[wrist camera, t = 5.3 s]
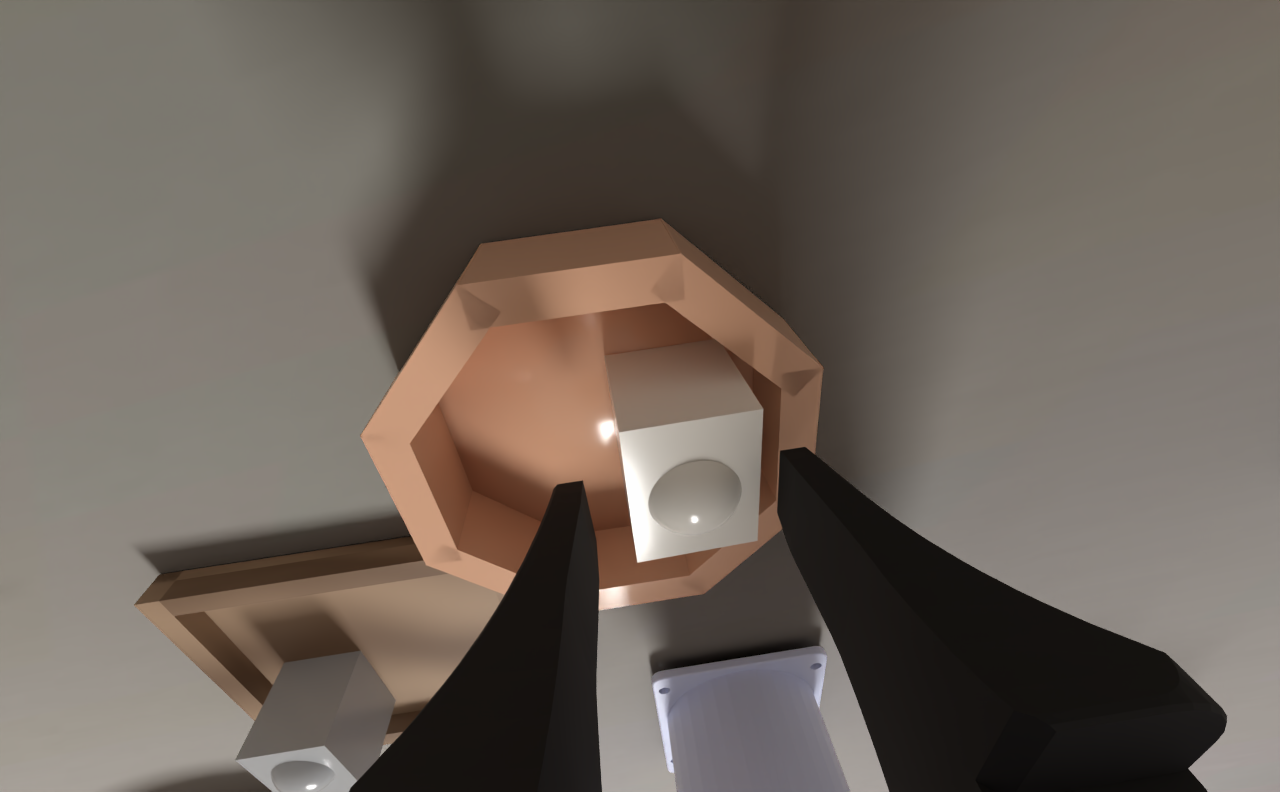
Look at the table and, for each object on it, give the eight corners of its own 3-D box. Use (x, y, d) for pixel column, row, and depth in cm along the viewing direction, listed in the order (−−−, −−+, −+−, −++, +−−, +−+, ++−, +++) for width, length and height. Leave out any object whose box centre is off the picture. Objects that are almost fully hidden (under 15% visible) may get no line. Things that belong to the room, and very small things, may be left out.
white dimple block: (719, 455, 16) (767, 562, 13) (621, 472, 16) (641, 585, 13) (718, 338, 14) (774, 427, 11) (604, 355, 14) (622, 452, 10)
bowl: (773, 511, 19) (803, 578, 16) (476, 557, 19) (459, 632, 16) (787, 200, 13) (837, 230, 10) (350, 261, 13) (294, 307, 10)
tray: (566, 688, 24) (565, 715, 23) (306, 729, 23) (294, 759, 22) (507, 521, 18) (502, 548, 17) (159, 574, 18) (133, 605, 17)
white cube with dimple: (396, 700, 22) (363, 811, 19) (326, 711, 22) (281, 825, 19) (360, 650, 20) (316, 766, 17) (284, 662, 20) (224, 780, 17)
